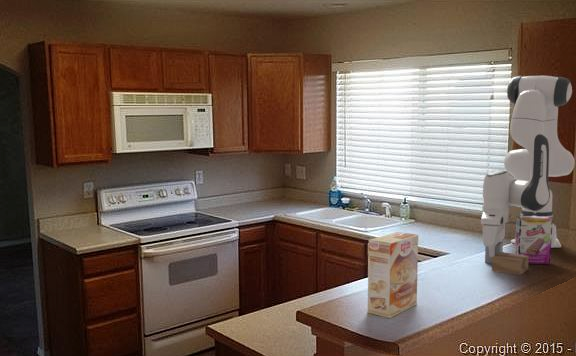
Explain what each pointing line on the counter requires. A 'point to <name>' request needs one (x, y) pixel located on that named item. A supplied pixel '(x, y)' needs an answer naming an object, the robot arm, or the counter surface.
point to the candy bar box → (534, 238)
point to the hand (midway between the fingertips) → (494, 254)
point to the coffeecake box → (392, 274)
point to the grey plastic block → (497, 250)
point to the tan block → (510, 263)
